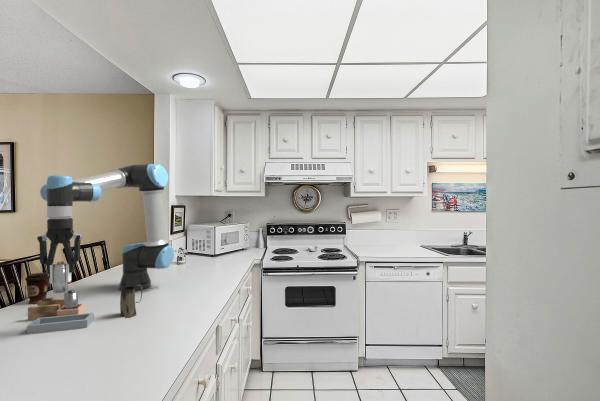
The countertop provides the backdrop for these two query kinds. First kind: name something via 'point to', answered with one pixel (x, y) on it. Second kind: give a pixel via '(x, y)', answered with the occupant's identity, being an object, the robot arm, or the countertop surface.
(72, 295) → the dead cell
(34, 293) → the coffee cup
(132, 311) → the mug
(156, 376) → the countertop surface
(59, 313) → the pink square tray
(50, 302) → the checker cradle
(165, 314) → the countertop surface
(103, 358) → the countertop surface
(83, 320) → the trough
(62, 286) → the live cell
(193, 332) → the countertop surface
